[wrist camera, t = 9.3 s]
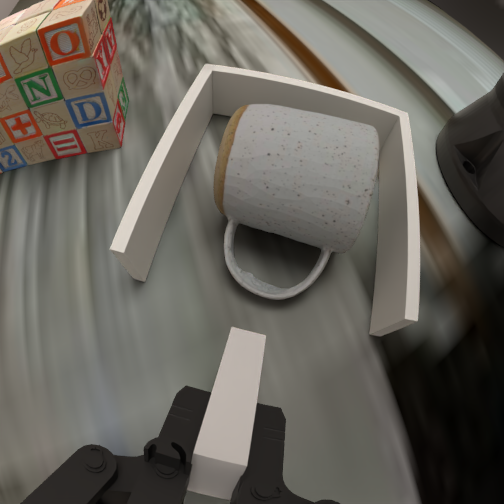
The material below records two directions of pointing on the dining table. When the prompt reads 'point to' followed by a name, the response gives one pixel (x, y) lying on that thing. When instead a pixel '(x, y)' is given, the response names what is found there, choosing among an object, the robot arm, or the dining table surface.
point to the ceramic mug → (294, 182)
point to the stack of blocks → (59, 83)
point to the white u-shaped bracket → (303, 98)
